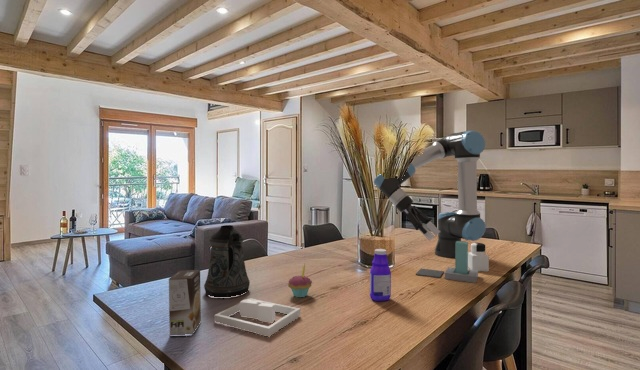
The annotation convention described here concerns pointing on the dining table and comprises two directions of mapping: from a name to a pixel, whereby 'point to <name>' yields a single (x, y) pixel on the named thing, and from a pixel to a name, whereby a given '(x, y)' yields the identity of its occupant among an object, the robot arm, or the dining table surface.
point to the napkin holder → (258, 310)
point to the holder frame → (261, 329)
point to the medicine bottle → (478, 258)
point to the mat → (430, 273)
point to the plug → (461, 257)
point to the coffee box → (184, 302)
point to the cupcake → (300, 284)
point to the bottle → (380, 277)
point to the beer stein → (226, 264)
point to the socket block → (461, 275)
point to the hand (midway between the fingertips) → (435, 236)
